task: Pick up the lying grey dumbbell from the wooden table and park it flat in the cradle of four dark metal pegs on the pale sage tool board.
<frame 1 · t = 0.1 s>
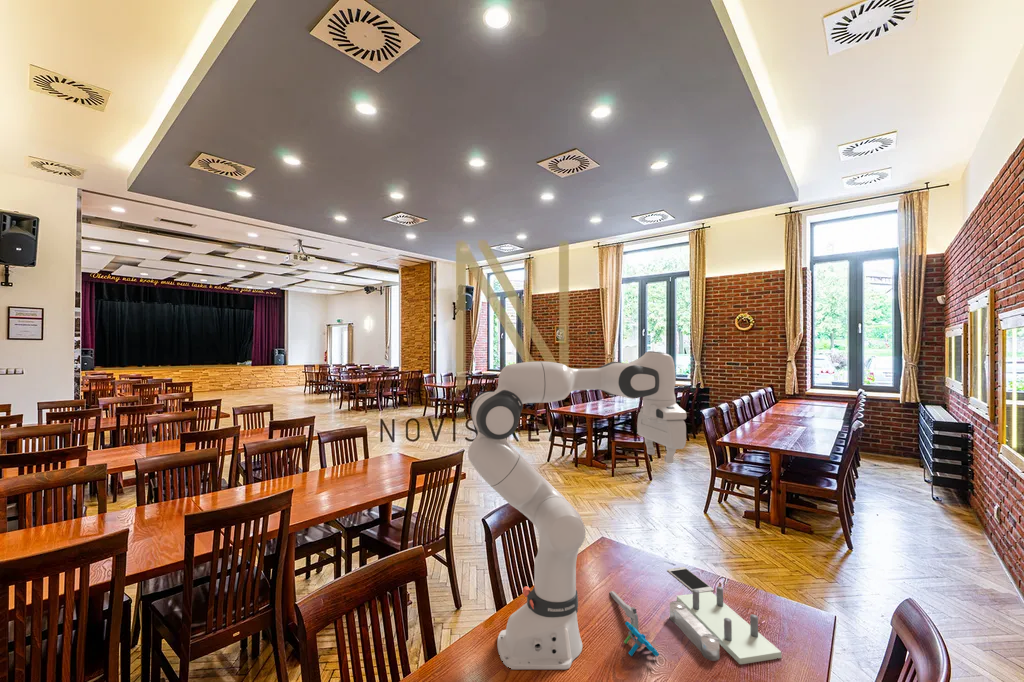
hand: (659, 458, 122), 48 cm above the table, tool pointing down, fingers open, 8 cm apart
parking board: (723, 626, 123), on the table
smartphone: (689, 582, 147), on the table
caliper: (622, 613, 130), on the table
gear: (640, 652, 113), on the table
grey dumbbell: (692, 636, 119), on the table
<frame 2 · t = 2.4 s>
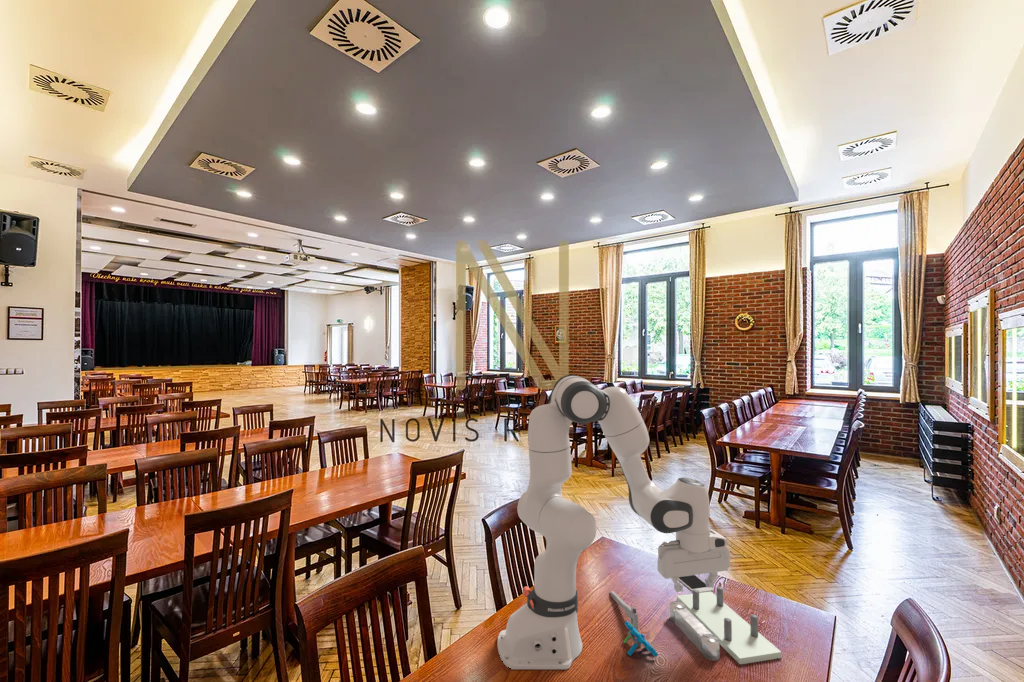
hand: (694, 588, 119), 13 cm above the table, tool pointing down, fingers open, 8 cm apart
nothing on the table moved.
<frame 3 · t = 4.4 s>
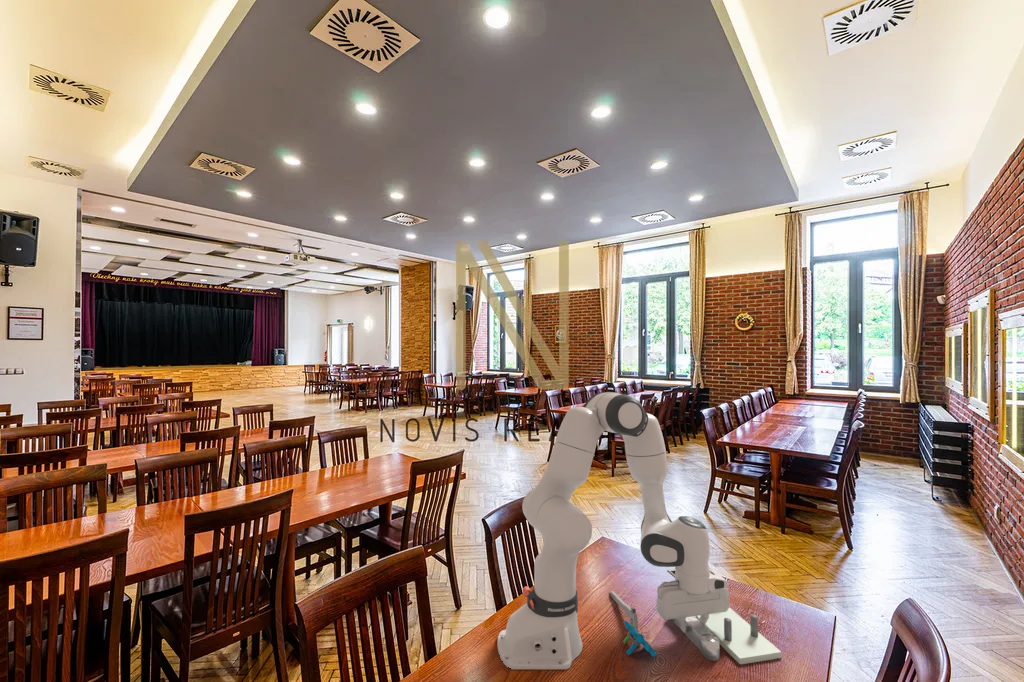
hand: (692, 629, 119), 2 cm above the table, tool pointing down, fingers closed on grey dumbbell, 3 cm apart
grey dumbbell: (692, 635, 119), on the table, touching gripper
everything else where it was.
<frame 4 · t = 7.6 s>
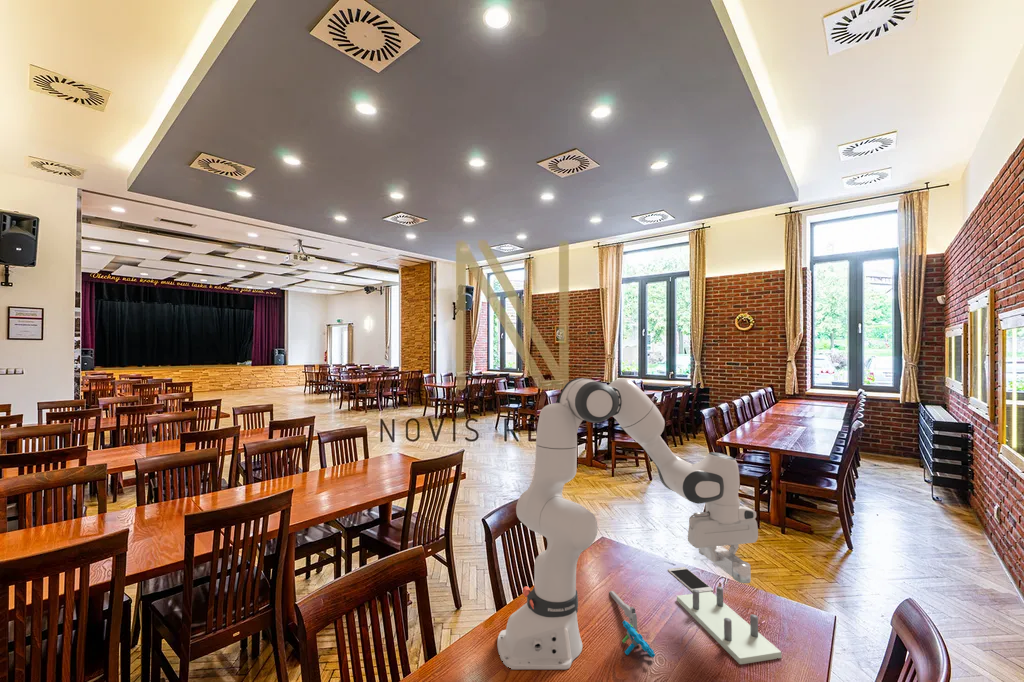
hand: (723, 559, 123), 19 cm above the table, tool pointing down, fingers closed on grey dumbbell, 3 cm apart
grey dumbbell: (723, 565, 123), point 17 cm above the table, touching gripper
everything else where it was.
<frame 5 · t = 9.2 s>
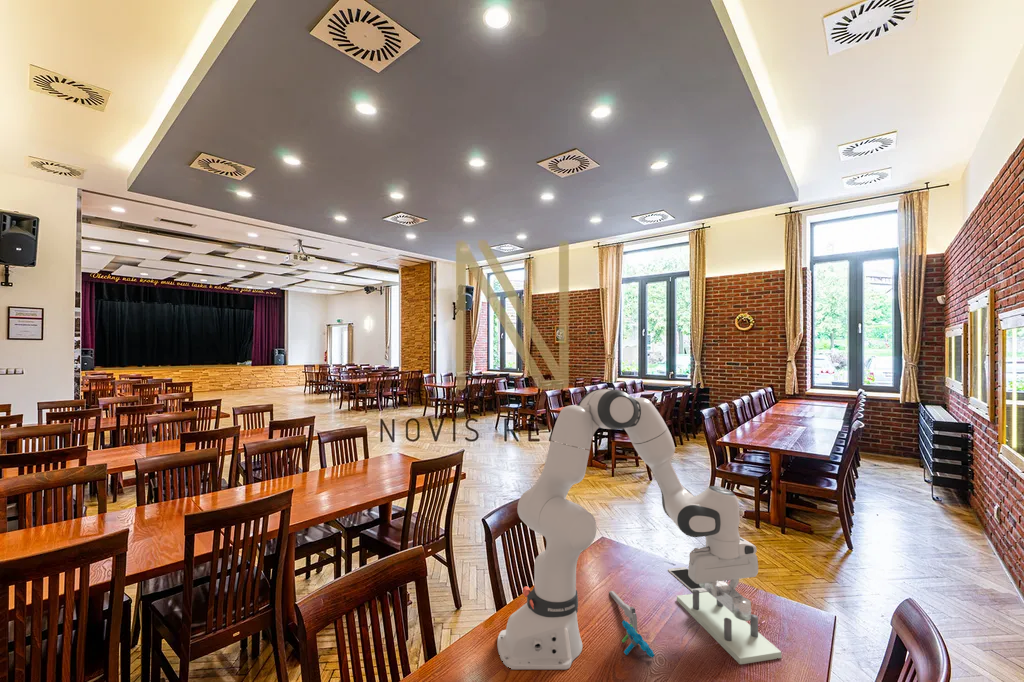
hand: (723, 594, 123), 9 cm above the table, tool pointing down, fingers closed on grey dumbbell, 3 cm apart
grey dumbbell: (723, 599, 123), point 7 cm above the table, touching gripper
everything else where it was.
when the fingers open (5 cm above the table, at t = 10.7 s): grey dumbbell drops 2 cm, resting on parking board.
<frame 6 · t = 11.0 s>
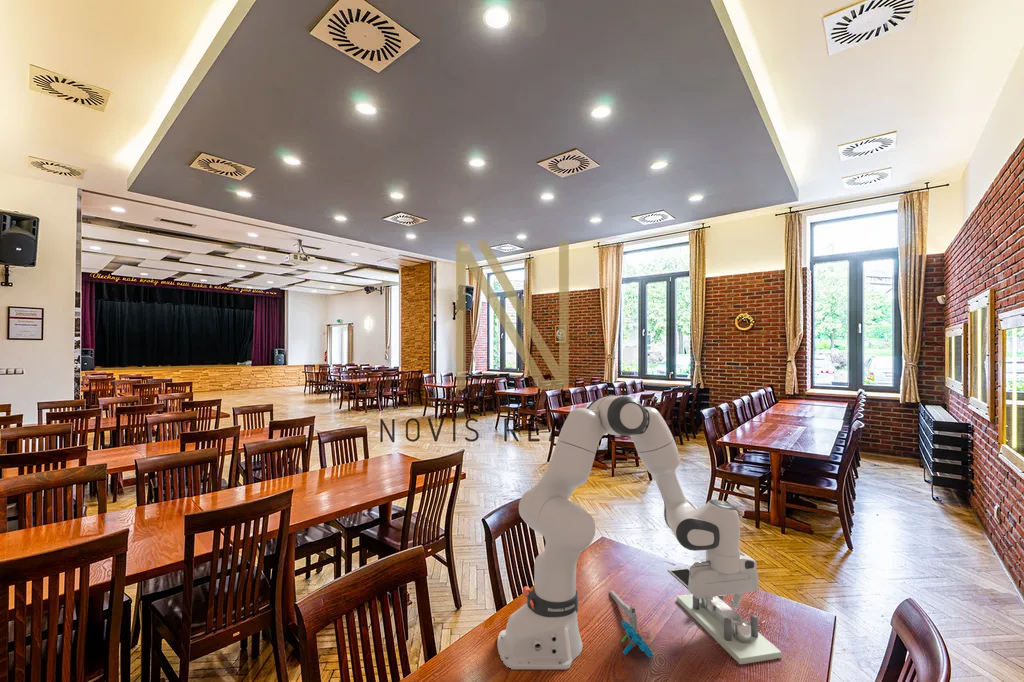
hand: (723, 608, 123), 5 cm above the table, tool pointing down, fingers open, 6 cm apart
grey dumbbell: (723, 620, 123), point 1 cm above the table, touching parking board
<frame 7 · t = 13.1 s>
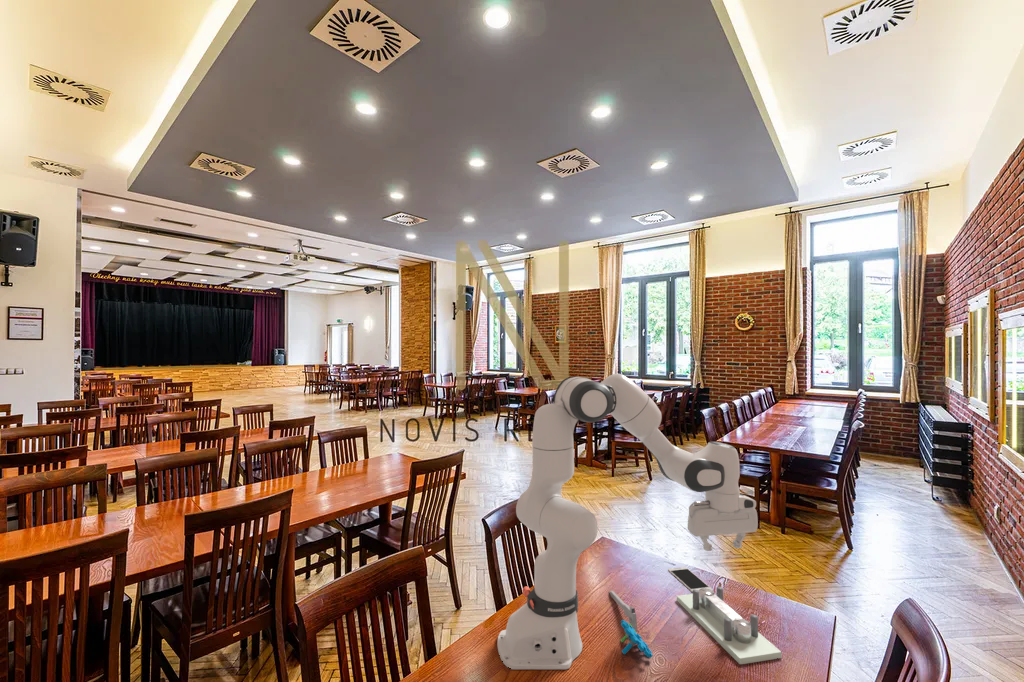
hand: (722, 548, 123), 22 cm above the table, tool pointing down, fingers open, 8 cm apart
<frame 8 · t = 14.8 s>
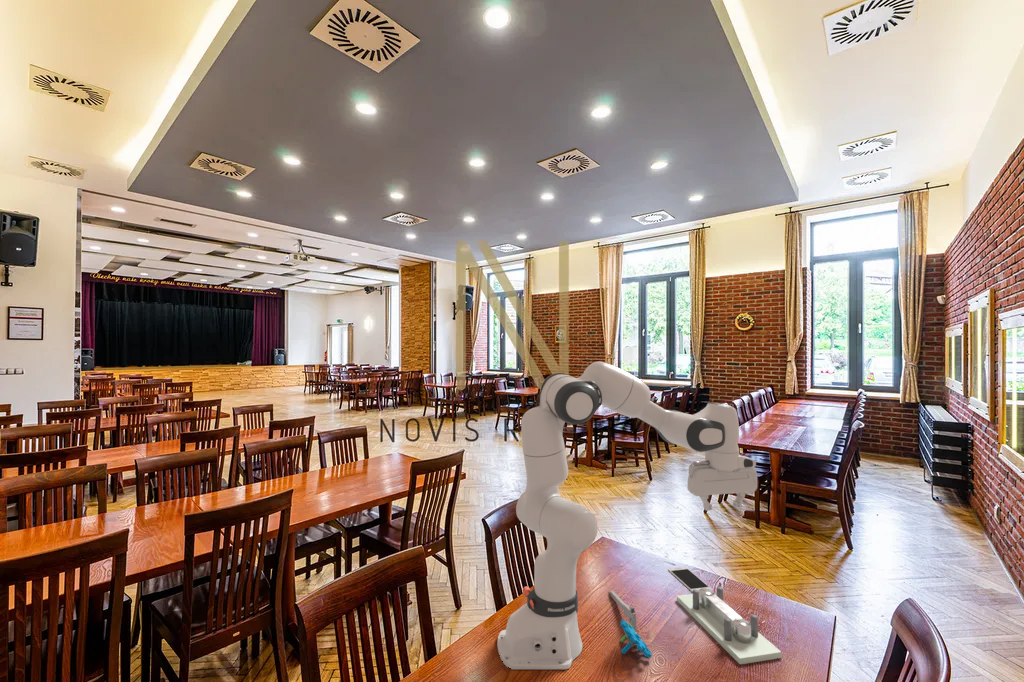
hand: (722, 508, 124), 33 cm above the table, tool pointing down, fingers open, 8 cm apart
at the end: grey dumbbell 0.1 cm off-centre on the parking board, point 1.5 cm above the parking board's base; grey dumbbell touching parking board; the gripper is holding nothing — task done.
